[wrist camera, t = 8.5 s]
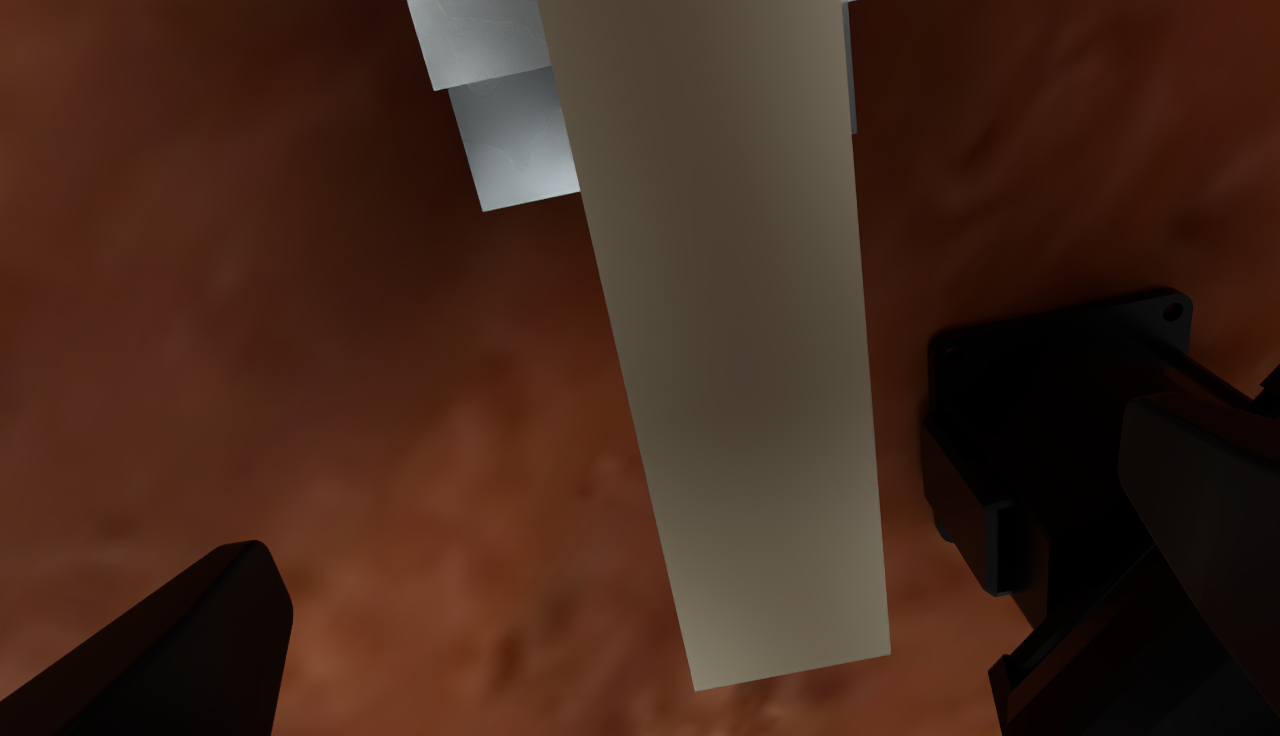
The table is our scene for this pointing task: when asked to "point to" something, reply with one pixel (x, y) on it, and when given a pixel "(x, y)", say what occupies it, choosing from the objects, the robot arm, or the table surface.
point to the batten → (736, 313)
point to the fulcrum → (511, 94)
